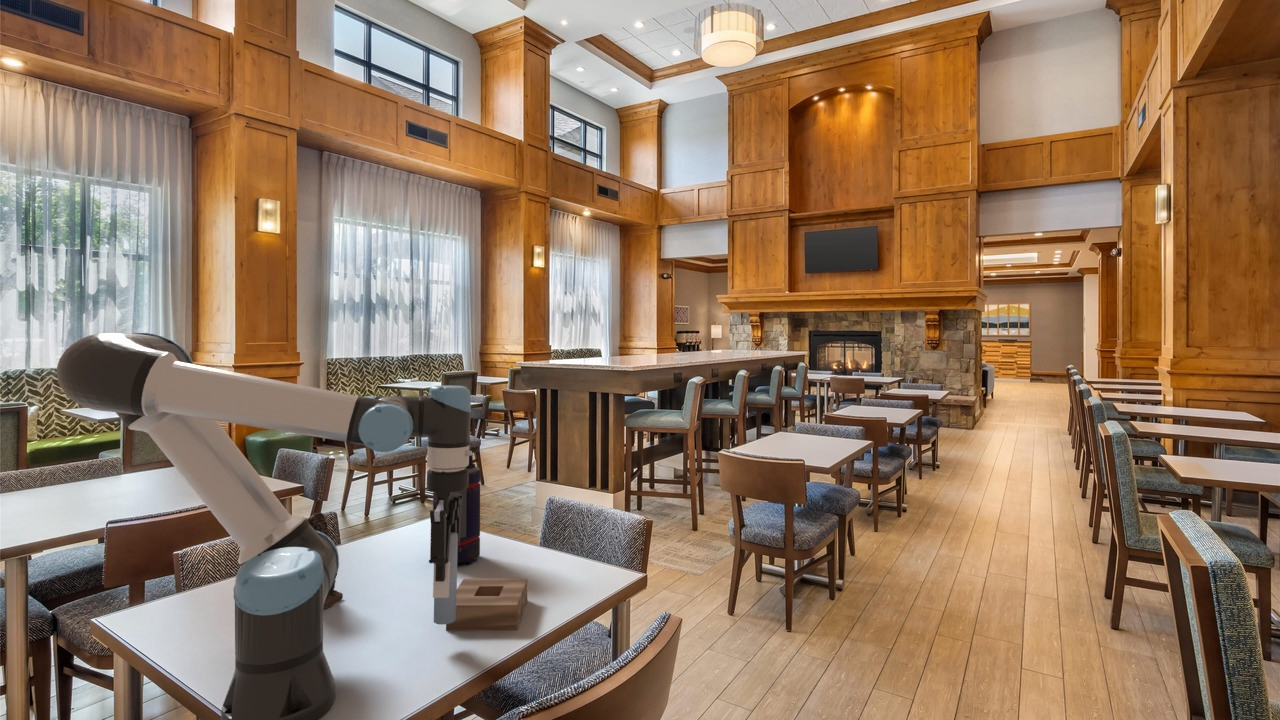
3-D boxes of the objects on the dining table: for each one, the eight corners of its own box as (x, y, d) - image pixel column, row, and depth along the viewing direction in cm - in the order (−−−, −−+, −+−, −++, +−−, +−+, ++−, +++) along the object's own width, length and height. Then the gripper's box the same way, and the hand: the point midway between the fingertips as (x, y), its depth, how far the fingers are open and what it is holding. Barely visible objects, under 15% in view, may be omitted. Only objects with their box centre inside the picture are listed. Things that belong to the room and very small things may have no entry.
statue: (321, 612, 128) (321, 518, 127) (292, 609, 129) (292, 515, 129) (344, 599, 134) (344, 509, 134) (316, 596, 136) (315, 507, 136)
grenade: (432, 555, 163) (432, 444, 163) (477, 550, 167) (478, 442, 167) (433, 573, 150) (434, 453, 150) (483, 567, 154) (483, 450, 154)
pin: (452, 624, 112) (454, 538, 112) (430, 624, 112) (432, 538, 112) (458, 615, 116) (460, 532, 116) (437, 615, 116) (439, 531, 116)
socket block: (516, 629, 121) (517, 604, 121) (445, 630, 120) (446, 605, 120) (527, 600, 135) (527, 578, 134) (463, 600, 134) (463, 578, 134)
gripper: (456, 477, 105) (452, 611, 105) (478, 460, 122) (475, 575, 122) (412, 476, 105) (408, 611, 105) (441, 459, 122) (437, 575, 122)
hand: (444, 591), depth 114 cm, fingers closed on pin, 4 cm apart
